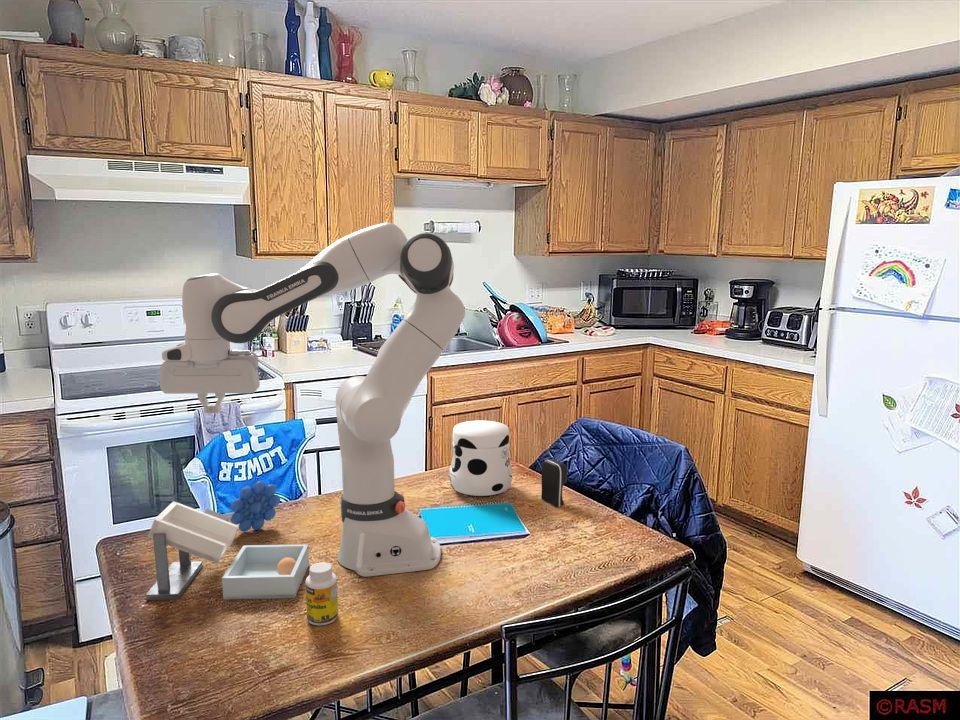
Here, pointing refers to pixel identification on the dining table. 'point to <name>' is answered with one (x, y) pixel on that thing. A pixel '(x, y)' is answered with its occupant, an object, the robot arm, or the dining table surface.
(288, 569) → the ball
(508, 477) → the spotted cookie jar
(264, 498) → the grapes
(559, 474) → the battery charger
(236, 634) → the dining table surface
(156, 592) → the trough stand
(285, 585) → the pale blue tray
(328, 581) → the supplement bottle
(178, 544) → the tipping trough
